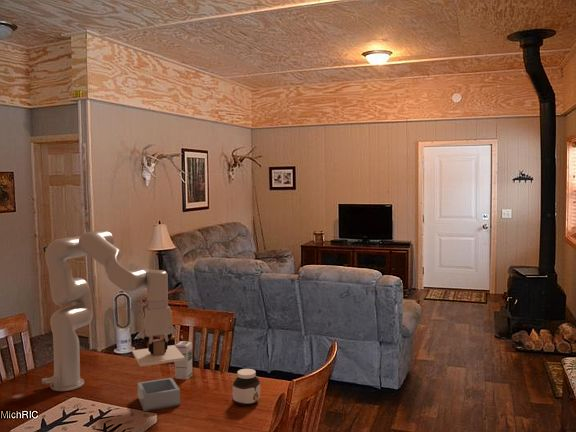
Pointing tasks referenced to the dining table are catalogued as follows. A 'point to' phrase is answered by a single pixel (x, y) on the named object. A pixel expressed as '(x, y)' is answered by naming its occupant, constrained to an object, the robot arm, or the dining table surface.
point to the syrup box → (184, 361)
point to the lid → (158, 354)
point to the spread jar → (246, 387)
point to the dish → (158, 394)
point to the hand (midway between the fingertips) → (158, 351)
